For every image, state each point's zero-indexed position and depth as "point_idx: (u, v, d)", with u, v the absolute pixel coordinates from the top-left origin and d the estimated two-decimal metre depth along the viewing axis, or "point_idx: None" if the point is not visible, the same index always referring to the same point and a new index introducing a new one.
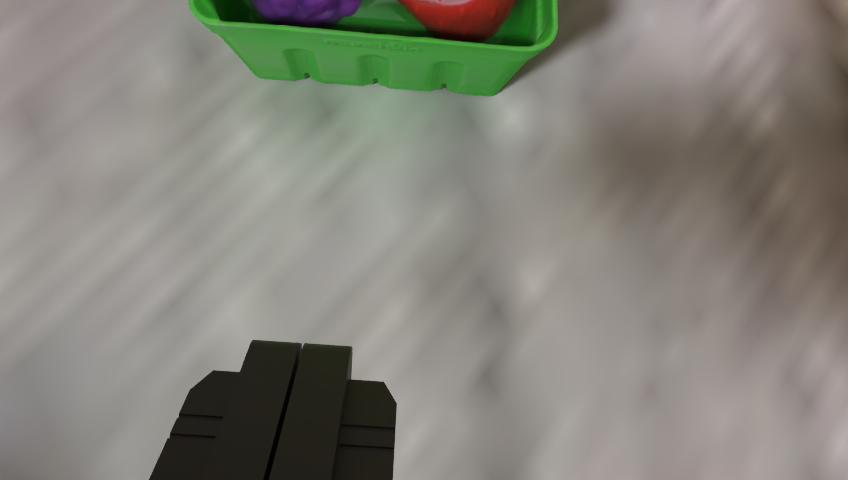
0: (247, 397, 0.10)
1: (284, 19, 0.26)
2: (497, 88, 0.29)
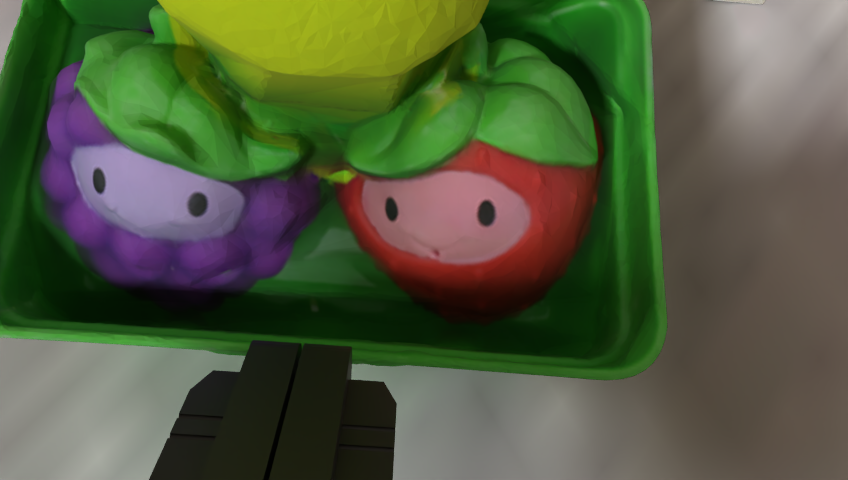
0: (247, 397, 0.10)
1: (149, 284, 0.14)
2: None
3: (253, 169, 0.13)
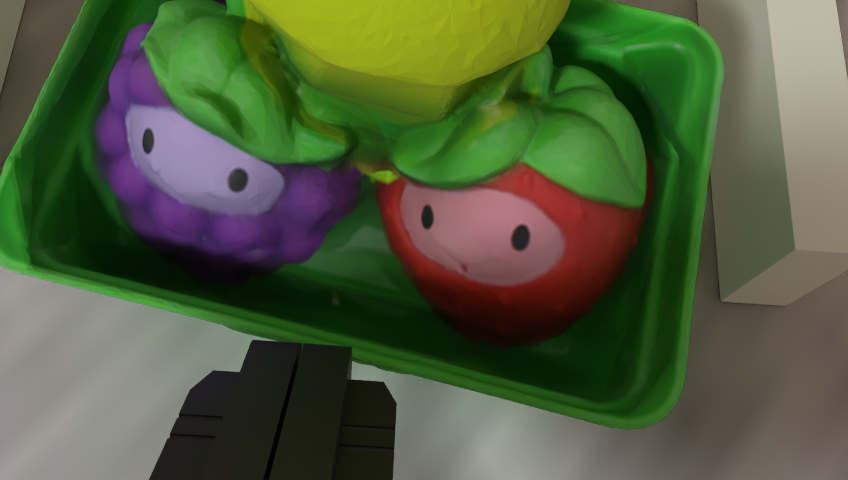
0: (247, 397, 0.10)
1: (179, 250, 0.14)
2: None
3: (298, 155, 0.13)
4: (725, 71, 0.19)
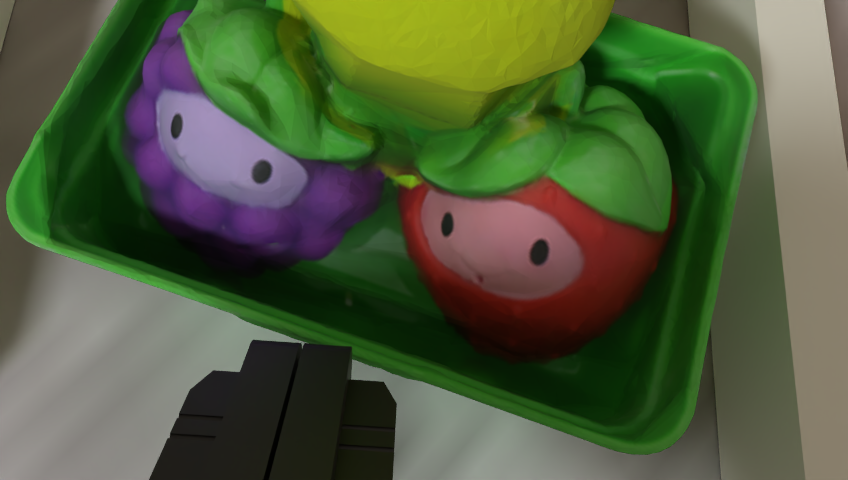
0: (247, 397, 0.10)
1: (198, 237, 0.14)
2: None
3: (324, 152, 0.13)
4: (732, 283, 0.17)
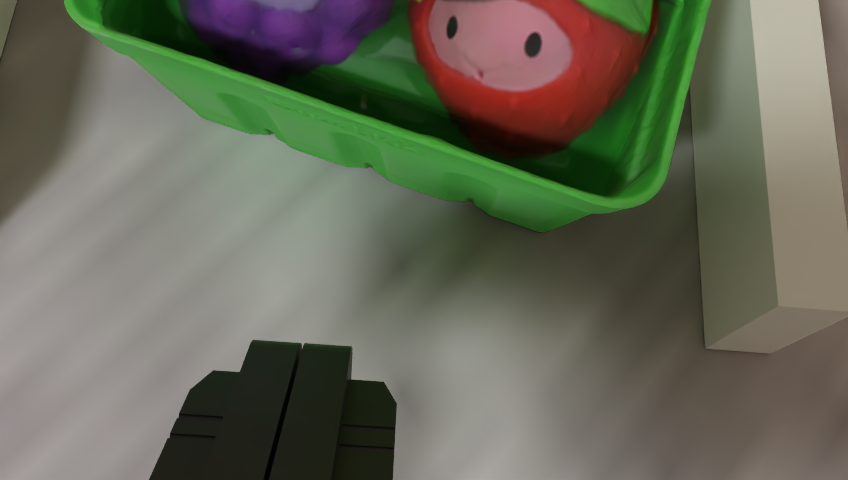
0: (247, 397, 0.10)
1: (229, 45, 0.16)
2: (549, 227, 0.18)
3: None
4: (713, 114, 0.19)
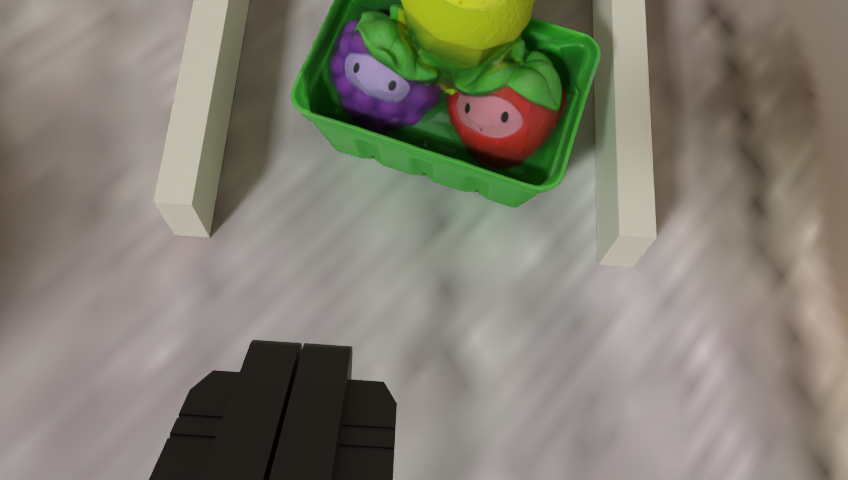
0: (247, 397, 0.10)
1: (361, 116, 0.34)
2: (517, 204, 0.35)
3: (417, 77, 0.33)
4: (602, 145, 0.36)
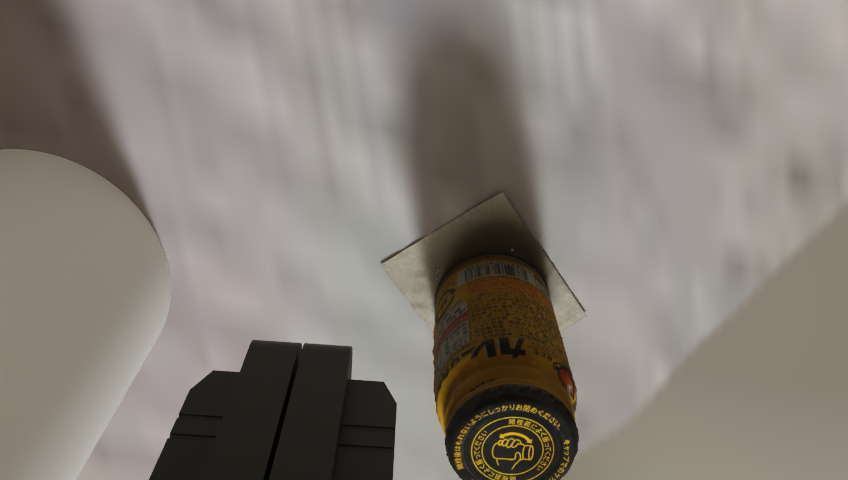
0: (247, 397, 0.10)
1: None
2: None
3: None
4: None
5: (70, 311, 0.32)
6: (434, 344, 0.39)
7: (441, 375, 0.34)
